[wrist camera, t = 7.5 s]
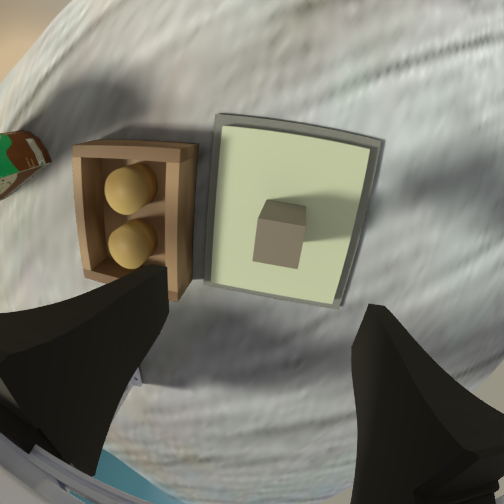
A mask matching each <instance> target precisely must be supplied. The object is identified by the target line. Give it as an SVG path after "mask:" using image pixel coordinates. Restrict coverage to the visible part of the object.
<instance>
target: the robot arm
mask: <svg viewBox="0 0 504 504" xmlns="http://www.w3.org/2000/svg"><path fill="white" fill-rule="evenodd" d="M168 314H169V299H168V271H167V267H165V266H160V265H156V264H150V265H148V266H145V267H143V268H140V269H138V270H136V271H134V272H132V273H129V274H127V275H125V276H123V277H121V278H119V279H117V280H114V281H112V282H110V283H108V284H106V285H103V286H101V287H99V288H96V289H94V290H91V291H89V292H87V293H84V294H82V295H79V296H76V297H74V298H71V299H67V300H64V301H61V302H58V303H54V304H50V305H46V306H42V307H38V308H34V309H29V310H23V311H17V312H9V313H0V504H86V503H84V502H82V501H81V500H79V499H77V498H76V497H74V496H73V495H71V494H69V492H70V491H72V492H74V493H76V494H78V495H80V496H81V497H83V498H85V499H87V500H89V501H91V502H93V503H95V504H153V503H151V502H148V501H145V500H143V499H140V498H137V497H135V496H132V495H130V494H127V493H125V492H123V491H120V490H118V489H115V488H114V487H111V486H109V485H107V484H105V483H103V482H101V481H99V480H97V479H94V478H92V476H94V475H95V473H96V468H97V465H98V461H99V458H100V454H101V451H102V447H103V444H104V441H105V439H106V436H107V433H108V430H109V427H110V424H111V422H112V421H113V419H114V417H115V416H116V414H117V412H118V410H119V409H120V407H121V405H122V403H123V402H124V400H125V398H126V397H127V395H128V393H129V391H130V390H131V388H132V386H133V385H134V386H137V387H141V386H142V380H141V376H140V371H139V365H140V364H141V362H142V361H143V359H144V357H145V356H146V354H147V353H148V351H149V350H150V348H151V346H152V345H153V343H154V342H155V340H156V339H157V337H158V335H159V334H160V331H161V329H162V327H163V325H164V323H165V321H166V318H167V316H168ZM351 361H352V379H353V388H354V396H355V405H356V414H357V427H358V439H357V458H356V468H355V478H354V485H353V491H352V498H351V503H350V504H504V495H503V496H501V497H499V498H497V499H495V496H494V492H496V491H498V490H499V483H498V480H499V479H500V478H501V477H503V476H504V414H503V413H501V412H499V411H498V410H496V409H494V408H493V407H491V406H490V405H488V404H486V403H485V402H483V401H482V400H480V399H479V398H477V397H476V396H475V395H473V394H472V393H471V392H469V391H468V390H467V389H465V388H464V387H463V386H461V385H460V384H459V383H458V382H457V381H455V380H454V379H453V378H452V377H451V376H450V375H449V374H448V373H446V372H445V371H444V370H443V369H442V368H441V367H440V366H439V365H438V364H437V363H436V362H435V361H434V360H433V359H432V358H431V357H430V356H429V355H428V354H427V353H426V352H425V351H424V350H423V348H422V347H421V346H420V345H419V344H418V343H417V342H416V341H415V339H414V338H413V337H412V336H411V335H410V334H409V333H408V331H407V330H406V329H405V328H404V327H403V326H402V324H401V323H400V322H399V321H398V320H397V319H396V317H395V316H394V315H393V314H392V313H391V312H390V311H389V310H388V309H387V308H386V307H385V306H381V305H375V304H369V305H368V307H367V310H366V312H365V315H364V318H363V320H362V323H361V325H360V328H359V330H358V333H357V335H356V338H355V340H354V342H353V345H352V359H351Z"/></svg>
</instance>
